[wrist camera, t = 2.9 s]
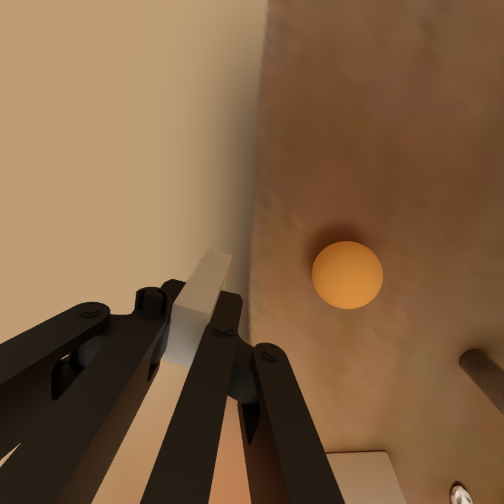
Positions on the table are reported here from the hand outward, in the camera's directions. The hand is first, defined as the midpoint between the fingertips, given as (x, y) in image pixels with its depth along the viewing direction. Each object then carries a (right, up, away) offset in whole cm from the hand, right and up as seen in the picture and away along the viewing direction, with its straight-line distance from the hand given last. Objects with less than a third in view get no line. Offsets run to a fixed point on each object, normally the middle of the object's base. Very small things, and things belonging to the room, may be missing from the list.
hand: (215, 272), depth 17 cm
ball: (+10, -1, +6) cm, 12 cm away
